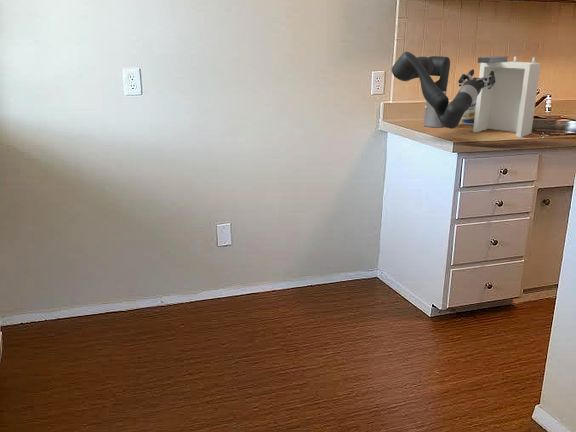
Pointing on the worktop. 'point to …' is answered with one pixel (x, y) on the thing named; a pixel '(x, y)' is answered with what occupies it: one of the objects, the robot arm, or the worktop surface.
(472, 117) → the beverage bottle
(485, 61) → the bar
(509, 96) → the shelf
